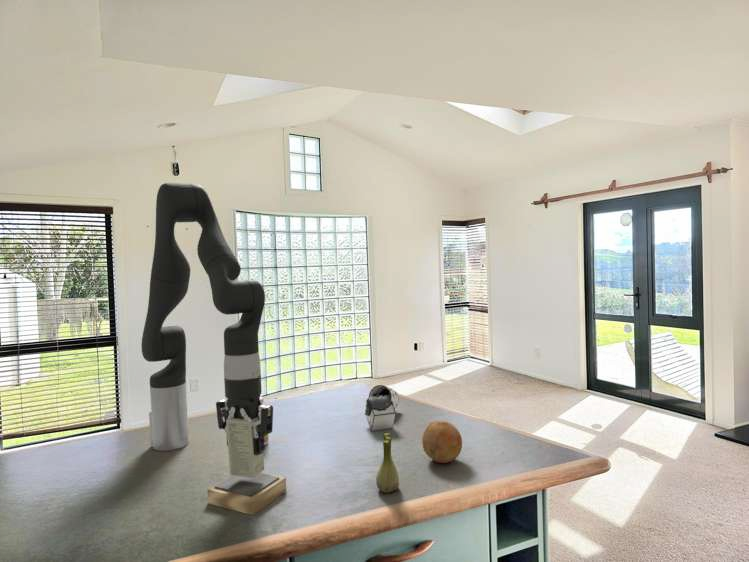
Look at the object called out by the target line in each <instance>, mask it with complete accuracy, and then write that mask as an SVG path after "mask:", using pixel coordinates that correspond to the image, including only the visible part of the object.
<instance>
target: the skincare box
mask: <svg viewBox="0 0 749 562" xmlns="http://www.w3.org/2000/svg"><path fill="white" fill-rule="evenodd" d="M257 421H258V417H256V418H254V419H252V422H257ZM250 422H251V421H245V419H238V418H234V419H230V418H229V419H226V425H227V433H226V441H227V440H228V446H227V450H228V463H229V464H228V465H229V466H228V467H229V475H230V476H232V475H233V476H241V477H250V478H254V477H256V476H257V475H258V474H259V473H263V471H265V460H264V457H265V455H264V452H263V453H261V454H260V455H254V445H253V438H255V437H254V435H253V432H252V428H251V424H250ZM256 427H257V430H258V426H256ZM258 431H259V430H258Z"/></svg>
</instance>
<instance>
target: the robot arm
mask: <svg viewBox="0 0 749 562" xmlns="http://www.w3.org/2000/svg"><path fill="white" fill-rule="evenodd" d="M155 201H156V202H155V204H156V205H155V234H154V235H155V238H154V239H155V241H154V251H153V258H152V265H151V271H150V281H149V294H148V303H147V312H146V317H145V322H144V326H143V330H142V336H141V354H142V357H143V359H144V360H145V361H147V362H148V363H149V362H150V363H153V362H154V363H155V362H162V361H163V362H164V361H169V363H168V364H167V365H165V366H164V368H162V369H160V370H158V371H156V372H155V373H153V374H151V375H150V378H149V390H150V391H149V393H150V394H149V395H150V412H149V414H148V417H149V418H148V419H149V438H150V440H149V441H150V442H149V443H150V447H152V448H153V450H154V451H158V452H166V451H167V452H169V451H174V450H178V449H181V448H183V447H185V446H187V445H188V444H189V441H190V440H189V422H188V420H189V419H188V399H187V398H188V397H187V381H186V380H187V379H186V376H187V362H186V361H187V359H186V358H187V340H186V339H187V338H186V334H185V333H186V332H185V331H184V328H183V327H182V326H181V325H168V326H163V325H164V323H165V321H166V319H167V317H169V316H170V314H171V313H172V312H173V310H174V309H176V308H177V307H178V306H179V305H180V303H181V302H182V301H183V300H184V298H185V296H186V294H187V293H188V290H189V285H190V277H191V266H190V265H191V264H190V262H189V261H188V259H187V257H186V256H185V254H184V252H183V251H182V249H181V248H180V246H179V244H178V242H177V240H176V236H175V226H176V223H195V222H196V223H198V224H199V226H200V227H201V233H200V236H199V239H198V242H197V247H196V249H197V250H196V251H197V257H198V259H199V261H200V262H199V263H200V264H201V266H202V267H203V269H204V271H205V273H206V275H207V277H208V278H209V285H210V288H211V295H212V302H213V305H214V307H215V309H216V310H217V311H218V312H220V313H221V314H223V315H228V316H229V315H230V316H231V315H237V314H239V315H240V314H241V316H240V318H239V319H238V320H239V321H237V322H235V323H233V324H231V325H229V326H227V327H226V328H225V329H224V331H223V348H224V349H223V351H224V360H223V377H224V378H223V380H224V396H225V398H223V399H221V400H219V401H216V403H215V409H216V417H217V428H218V429H219V430H224V432H225V433H226V434H227V425H226V419H229V418H230V419H234V418H238V419H245V421H251V422H250V424H251V428H252V432H253V435H254V437H255V438H253V445H254V455H260V454H261V453H263V454H264V451H265V449H266V448H265V446H266V445H265V446H264V436H265V435H267V434H268V435H270V434H271V433H273V422H274V406H273V405H272V404H269V405H264V404H263V405H262V404H261V402H260V396H261V395H262V369H261V358H260V350H259V349H260V348H259V330H260V327H261V326H260V325H261V321H262V317H263V311H264V308H265V304H266V303H265V302H266V294H265V290H264V287H263V285H262V284H261V283H260V282H259V281H258V280H256V279H239V276H240V274H241V271H242V269H241V264H240V262H239V261H238V259H237V258H236V256H235V254H234V252H233V251H232V249H231V247H230V246H229V244H228V242H227V241H226V239H225V236H224V234H223V231H222V228H221V225H220V223H219V219H218V217H217V215H216V212H215V209H214V206H213V204H212V202H211V198H210V197H209V195H208V192H207V191H206V190H205V188H204V187H203V186H202V185H200V184H196V183H183V182H182V183H181V182H180V183H179V182H178V183H177V182H176V183H175V182H165V183H163V184H160V186H159V188H158V190H157V195H156V200H155ZM238 279H239V280H238ZM174 311H175V310H174ZM259 412H260V413H259ZM256 417H258V421H257V422H252V419H254V418H256ZM256 426H258V430H259V431H258V430H257V427H256ZM226 446H227V447H228V440H227V439H226Z"/></svg>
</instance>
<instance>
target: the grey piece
mask: <svg viewBox="0 0 749 562" xmlns="http://www.w3.org/2000/svg"><path fill="white" fill-rule="evenodd" d="M399 400H400V397H399V394H398V392H397V390H395V389H393V388H391V387H389V386H386V385H384V384H379V385H378V384H377V385H376V386H373V388H372V389H371V390H370V392H369V394H368V397H367V399H366V401H365V402H366V403H365V404H366V405H365V410H364V411H365V413H364V415H365V418H366V420H367V423H368V427H369V429H370V431H371V432H375V431H381V430H389V429H393V427H394V423H395V419H396V414H397V412H396V410H395V409H396V408H397V407H398V404H399V402H400V401H399Z"/></svg>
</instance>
